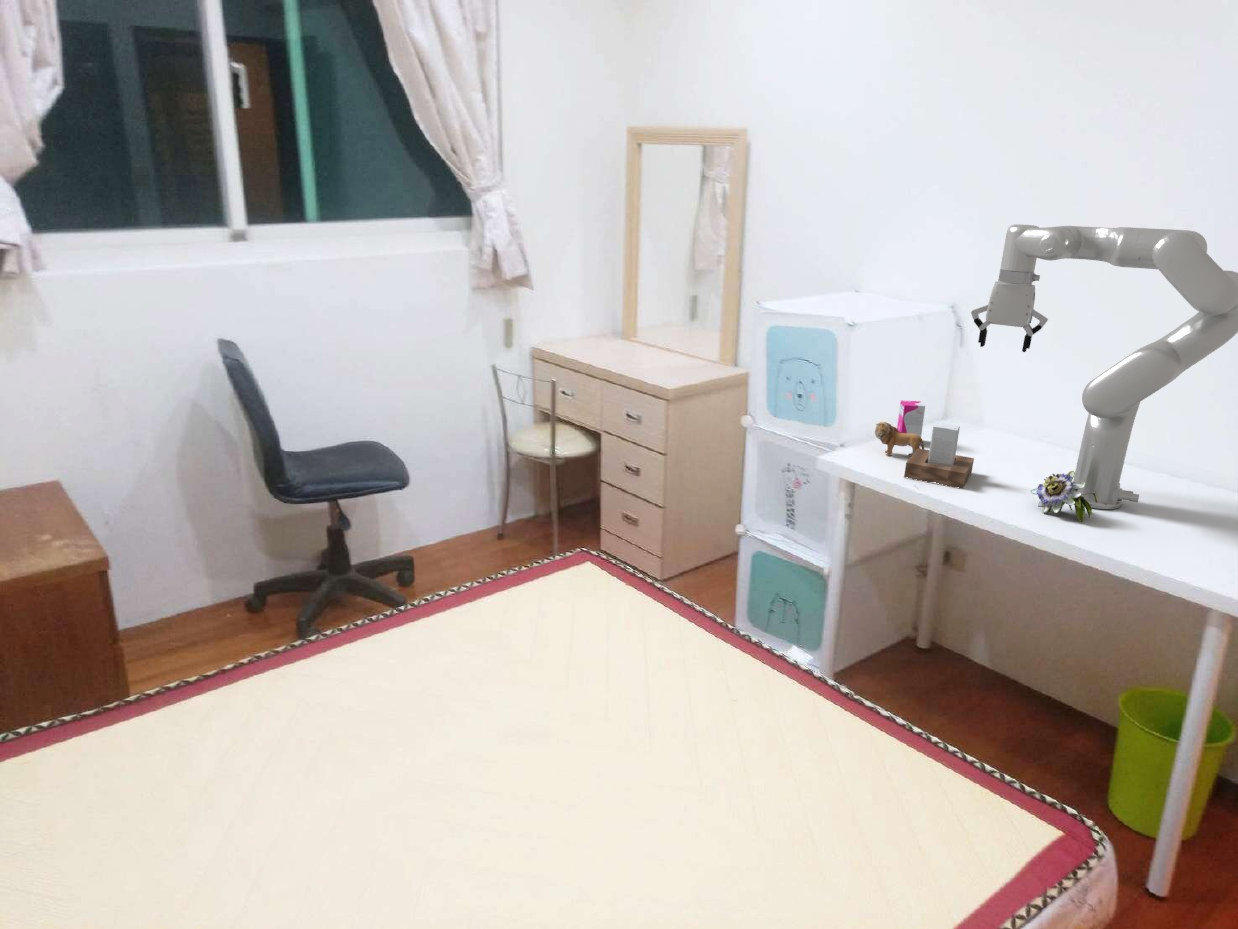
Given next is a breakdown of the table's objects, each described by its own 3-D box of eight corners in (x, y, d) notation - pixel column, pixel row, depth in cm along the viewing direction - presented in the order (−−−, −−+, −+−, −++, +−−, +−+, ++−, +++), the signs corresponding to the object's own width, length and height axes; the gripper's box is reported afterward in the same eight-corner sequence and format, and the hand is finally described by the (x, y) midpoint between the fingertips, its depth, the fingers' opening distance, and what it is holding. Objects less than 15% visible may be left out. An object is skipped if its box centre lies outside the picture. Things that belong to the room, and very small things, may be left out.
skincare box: (953, 471, 228) (960, 426, 224) (950, 476, 224) (958, 430, 220) (928, 467, 231) (935, 422, 227) (925, 471, 227) (932, 426, 223)
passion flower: (1041, 535, 207) (1018, 487, 209) (1072, 519, 212) (1049, 473, 213) (1080, 525, 197) (1056, 475, 198) (1112, 508, 201) (1088, 460, 203)
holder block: (971, 473, 230) (974, 458, 229) (962, 488, 219) (965, 473, 217) (915, 462, 237) (917, 448, 235) (904, 477, 225) (906, 462, 224)
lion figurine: (871, 455, 241) (876, 423, 238) (871, 450, 246) (876, 418, 243) (929, 462, 238) (934, 429, 235) (928, 456, 242) (933, 424, 240)
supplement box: (915, 439, 257) (921, 400, 253) (920, 445, 251) (926, 406, 248) (895, 438, 257) (900, 399, 254) (899, 444, 252) (904, 404, 248)
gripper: (1056, 280, 214) (1042, 350, 220) (980, 273, 222) (968, 341, 228) (1053, 283, 208) (1039, 355, 214) (975, 276, 216) (963, 346, 221)
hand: (1003, 348), depth 221 cm, fingers open, 9 cm apart
